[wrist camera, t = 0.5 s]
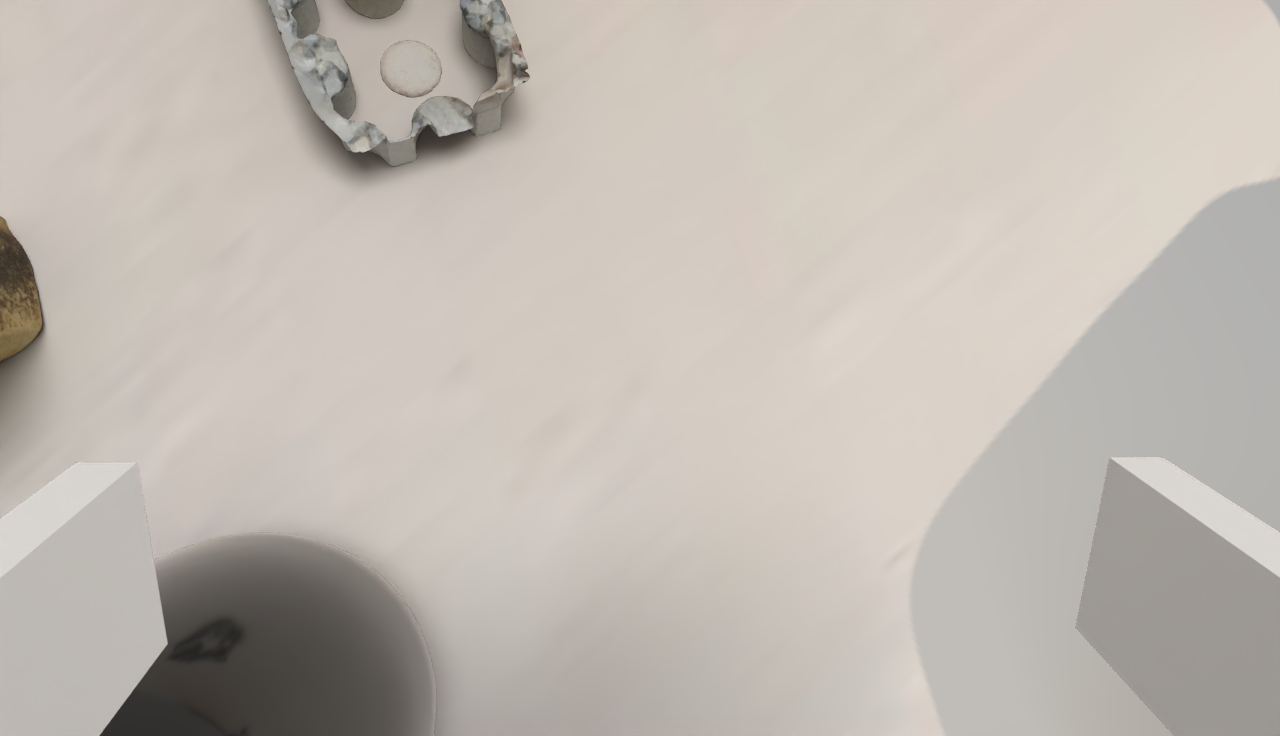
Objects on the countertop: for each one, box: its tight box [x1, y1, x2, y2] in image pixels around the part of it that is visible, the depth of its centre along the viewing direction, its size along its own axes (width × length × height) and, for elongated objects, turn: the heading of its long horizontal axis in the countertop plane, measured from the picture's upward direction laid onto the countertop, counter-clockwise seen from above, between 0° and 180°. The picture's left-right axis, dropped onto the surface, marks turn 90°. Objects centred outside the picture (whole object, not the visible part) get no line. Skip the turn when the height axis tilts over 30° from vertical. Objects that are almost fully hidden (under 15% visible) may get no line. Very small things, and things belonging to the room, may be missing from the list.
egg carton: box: [268, 0, 530, 166], centre depth 31 cm, size 11×8×4 cm
